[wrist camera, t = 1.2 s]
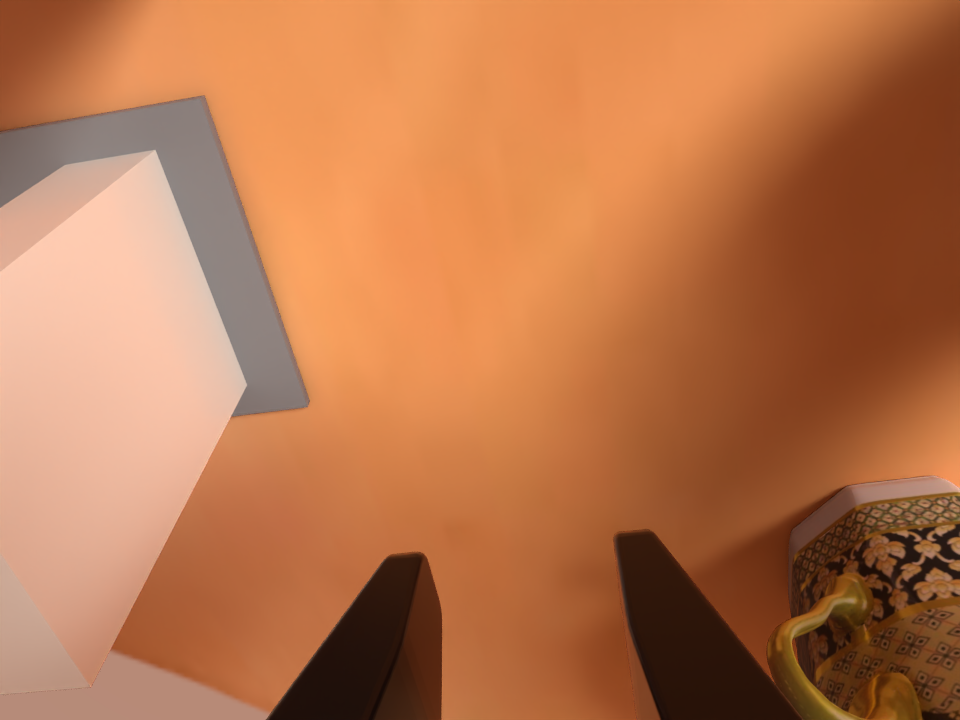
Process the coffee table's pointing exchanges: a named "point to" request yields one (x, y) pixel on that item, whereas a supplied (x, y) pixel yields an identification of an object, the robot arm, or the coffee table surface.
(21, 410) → the tile
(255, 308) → the mat
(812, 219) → the coffee table surface
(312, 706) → the robot arm
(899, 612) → the ceramic cup
